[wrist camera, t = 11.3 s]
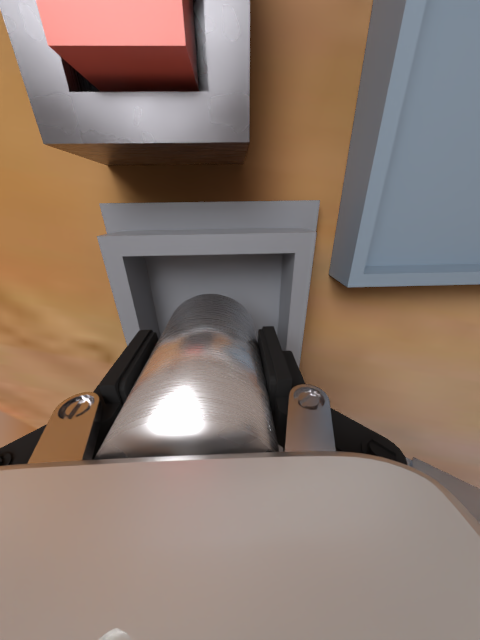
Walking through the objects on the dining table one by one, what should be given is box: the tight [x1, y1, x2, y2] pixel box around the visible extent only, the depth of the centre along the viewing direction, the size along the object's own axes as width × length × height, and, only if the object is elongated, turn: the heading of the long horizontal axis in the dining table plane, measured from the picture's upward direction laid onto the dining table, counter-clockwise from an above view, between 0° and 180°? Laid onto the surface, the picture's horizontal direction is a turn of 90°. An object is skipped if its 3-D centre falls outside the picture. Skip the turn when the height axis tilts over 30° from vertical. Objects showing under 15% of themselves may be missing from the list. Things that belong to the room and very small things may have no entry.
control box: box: [0, 0, 250, 165], centre depth 9 cm, size 8×8×5 cm
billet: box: [94, 294, 280, 460], centre depth 10 cm, size 5×5×8 cm
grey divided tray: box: [97, 200, 320, 452], centre depth 18 cm, size 13×24×4 cm, turn 1°
